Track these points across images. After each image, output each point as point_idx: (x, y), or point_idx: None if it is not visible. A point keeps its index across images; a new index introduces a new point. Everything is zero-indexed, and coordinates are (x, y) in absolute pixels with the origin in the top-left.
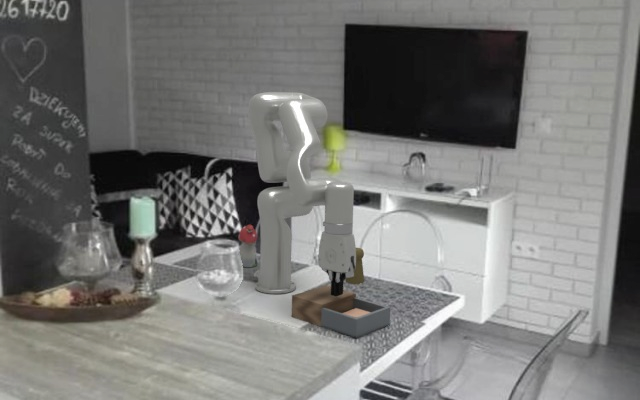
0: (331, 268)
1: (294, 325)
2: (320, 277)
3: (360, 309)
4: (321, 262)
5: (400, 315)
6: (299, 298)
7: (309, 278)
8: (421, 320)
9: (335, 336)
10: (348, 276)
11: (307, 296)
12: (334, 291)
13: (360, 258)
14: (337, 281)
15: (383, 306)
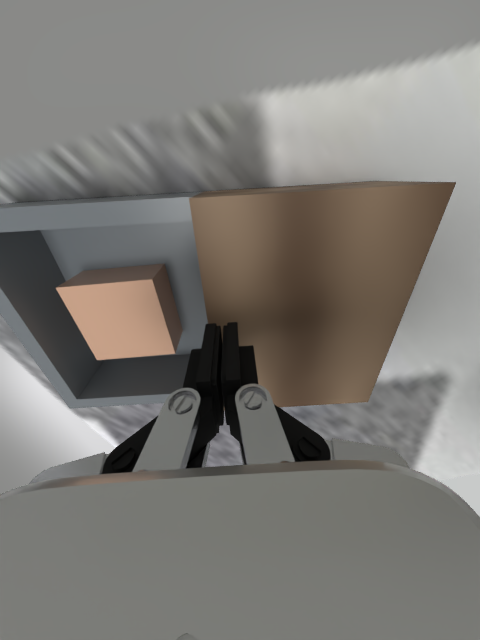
0: (181, 510)
1: (297, 90)
2: (451, 447)
3: (154, 354)
4: (433, 578)
5: (153, 415)
6: (384, 187)
7: (475, 432)
8: (101, 423)
9: (71, 146)
10: (67, 471)
11: (357, 248)
12: (208, 337)
13: None
14: (187, 396)
15: (86, 400)
